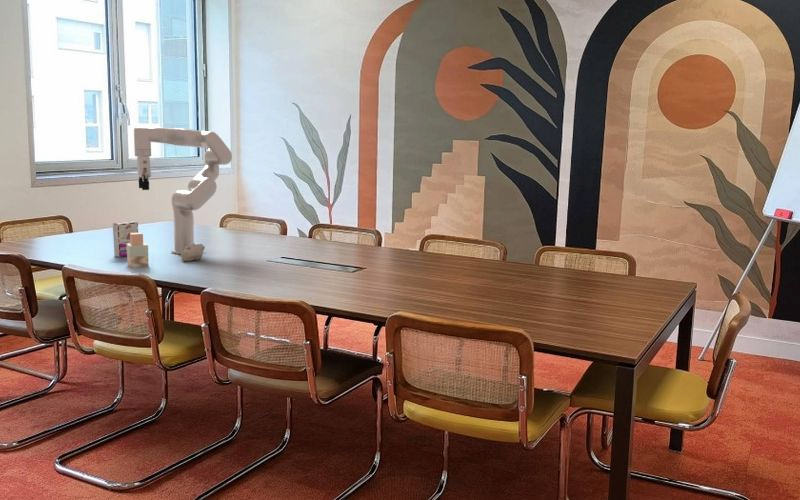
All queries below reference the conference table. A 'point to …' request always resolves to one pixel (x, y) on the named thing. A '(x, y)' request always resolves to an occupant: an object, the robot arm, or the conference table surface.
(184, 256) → the fossil replica
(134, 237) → the terracotta cube
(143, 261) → the tower bottom
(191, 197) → the robot arm
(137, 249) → the tower top
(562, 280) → the conference table surface
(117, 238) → the candy bar box
